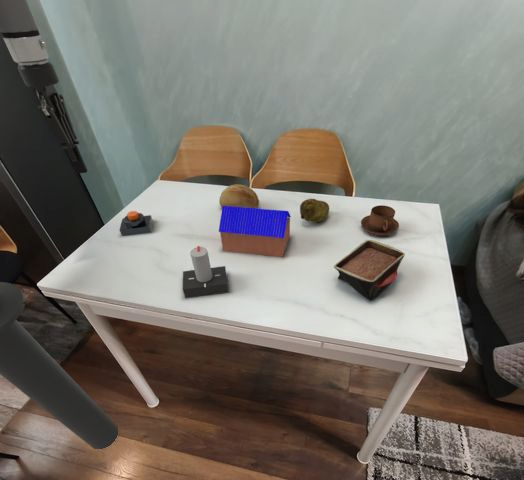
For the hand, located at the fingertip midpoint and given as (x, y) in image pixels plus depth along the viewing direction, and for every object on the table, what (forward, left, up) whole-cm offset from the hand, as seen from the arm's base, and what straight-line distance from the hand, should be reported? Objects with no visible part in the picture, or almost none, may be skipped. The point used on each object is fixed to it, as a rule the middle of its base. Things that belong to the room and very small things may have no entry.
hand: (82, 171), depth 89 cm
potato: (+71, -6, -21) cm, 74 cm away
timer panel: (+32, -34, -21) cm, 51 cm away
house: (+49, -16, -21) cm, 55 cm away
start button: (+9, +3, -17) cm, 19 cm away
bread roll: (+46, +9, -21) cm, 51 cm away
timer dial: (+32, -34, -17) cm, 49 cm away
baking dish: (+76, -41, -21) cm, 88 cm away
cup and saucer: (+90, -16, -21) cm, 93 cm away
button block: (+9, +3, -20) cm, 22 cm away
